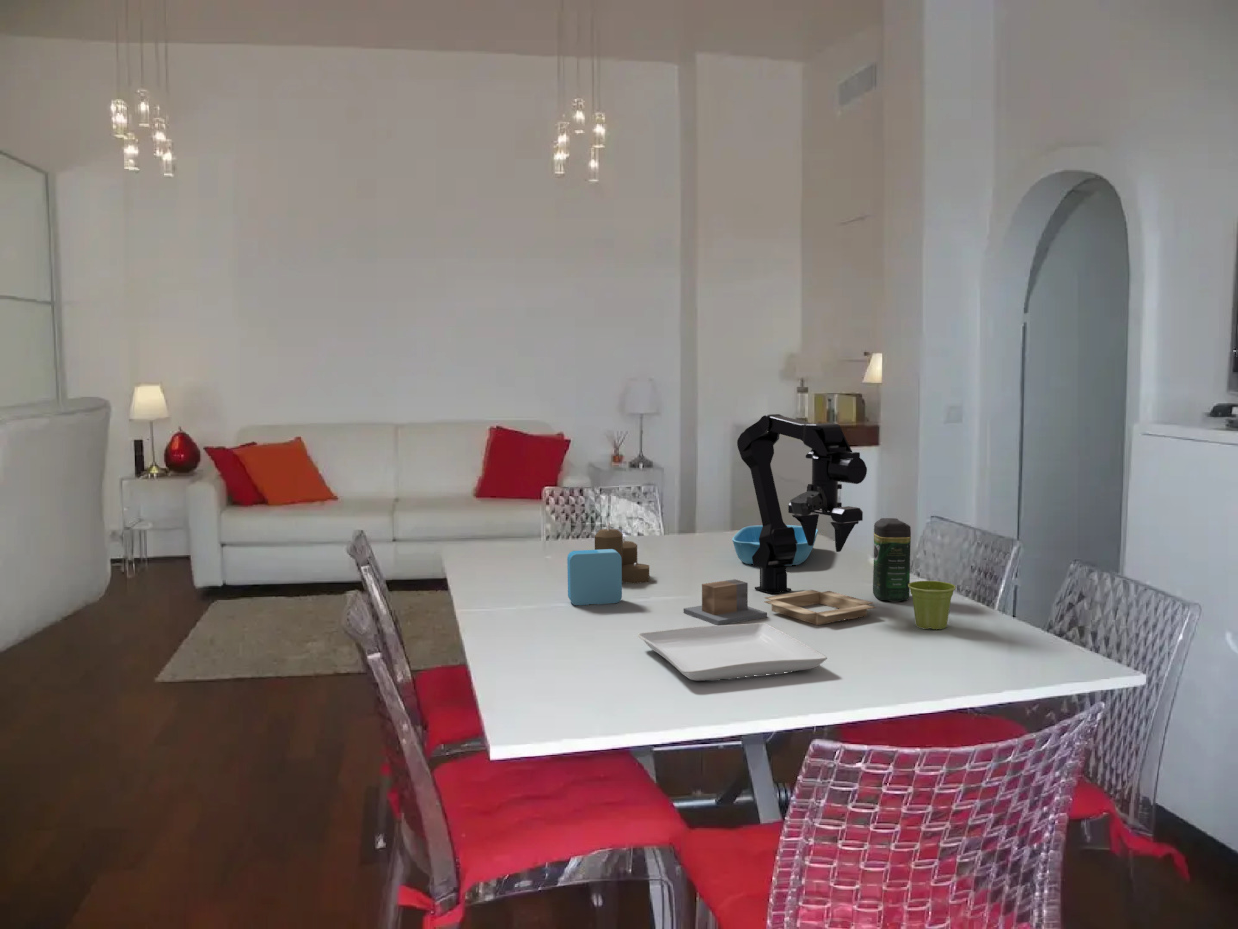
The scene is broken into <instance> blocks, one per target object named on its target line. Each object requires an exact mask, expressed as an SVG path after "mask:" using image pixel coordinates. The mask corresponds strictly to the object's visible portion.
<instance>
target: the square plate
mask: <svg viewBox="0 0 1238 929" xmlns="http://www.w3.org/2000/svg"><path fill="white" fill-rule="evenodd" d="M637 637H638V638H639V639H641V640H642V641H643V642H644V643H645V644H646V645H647V646H648V647H649V649H651V650H653V652H655V653H657V654H658V655H660V656H661V658H664V659H665V660H666V661H667V662H669V663H670V664H671V665H672V666H673V667H675V668H676V670H678V671H679V673H680V674H682V675H683V676H685V677H686V678H688V679H689V680H691V681H705V680H718V681H721V680H720V679H728V680H730V679H729V678H737V677H745V676H754V675H765V676H767V675H766V674H775V673H784V672H790V673H792V672H791V671H794V672H796V671H798V672H799V671H806V670H812V669H814V668H817V667H818V666H820V665H822V664H823V663H824V661H826V660H827V659H828V656H826V655H824V654H823V653H821V652H819V651H817V650H816V649H814V648H813V647H811V646H809V645H807V644H806V643H804V642H803V641H800V640H799V639H797V638H795V637H793V636H791V635H789V634H788V633H785V632H783V631H782V630H780V629H778V628H775V627H773V626H772V625H769V624H767V623H764V622H759V623H744V624H742V623H741V624H724V625H705V626H703V625H702V626H693V627H692V626H691V627H682V628H673V629H665V630H657V631H655V630H654V631H647V632H639V633H638V634H637ZM784 674H785V673H784ZM775 675H776V674H775ZM737 679H738V678H737Z"/></svg>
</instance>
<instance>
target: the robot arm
mask: <svg viewBox="0 0 1238 929" xmlns="http://www.w3.org/2000/svg"><path fill="white" fill-rule="evenodd" d="M780 435H782V436H786V437H788V438H793V439H796V440H799V441H802V443H803V444H804V445H805V446H806V447H808V448H809V449H811V450H810V451H809V452H808V453H807V454H806V455H805V458H806V459H808V460H810V459H811V483H807V485H806V491H805V492H803V493H800V494H799V495H796V496H795V497H792V498H791V499H790V500H789V503H788V505H787V507H788V508H787V509H788V514H791V515H792V518H795V519H796V520H797V521H798V522H799V523H800V526H802V528H803V531H804V534H805V537H806V540H807V543H808V545H809V546H812V545H813V543H814V539H815V534H816V529H818V528H817V526H818V522H819V516H820V515H822V516H823V515H825V516H829V517H830V518H831V520H832V521H831V522H830V521H829V522H830V524H831V526H832V527H833V529H834V542H835V543H834V546H835V551H836V553H837V552H838V553H840V552H842V550H843V547H844V546H845V544H846V541H847V539H848V538H849V536H850V534H851V532H852V530H853V529H854V527H855V525H858V524H859V522H860V521H861V522H863V520H864V519H863V517H864V515H863V514H864V512H863V510H862V509H861V508H860V507H856V506H855V507H854V506H849V505H848V506H843V505H842V504H843V503H842V502H840V501H839V500H838V497H839V496H838V494H839V490H842V489H843V486H842V484H840V483H846V484H854V485H858V484H861V483H863V481H864V480H865V479H866V476H867V474H868V473H867V472H868V467H867V465H866V463H865V461H864V459H862V458H861V454H860V453H861V452H860V451H859V452H857V451H854V452H853V450H852V448H851V445H850V444H849V442H848V440H847V438H846V436H845V434H844V432H843V430H842V426H840V424H838V423H834V422H833V423H830V422H828V423H812V422H808V421H803V420H800V419H795V418H792V417H788V416H784V415H781V414H780V413H778V414H777V413H770V414H765V415H763V416H761V417H760V419H758V421H756V422H755V423H753V424H751V425H750V426H748V427H747V428H746V429H745V430H744V431H742V433H740V435H739V437H738V438H737V441H736V444H737V445H736V446H737V449H738V453H739V455H740V458H741V460H742V462H744V463H745V465H746V466H747V467H748V469H749V470H750V473H751V477H752V483H753V488H754V491H755V497H756V501H757V505H758V510H759V514H760V520H761V523H762V525H763V527H762V530H761V533H760V537H759V543H760V547H759V548H758V550H757V551H756V552H755V554H754V555H753V556H752V560H753V565H752V566H754V567H758V568H759V586H755V587H754V590H757V591H760V592H763V593H766V594H771V595H772V594H779V593H785V592H791V591H792V588H791V587H788V573H787V566H785V565H792V564H793V561H794V557H795V554H796V552H797V545H796V544H797V543H798V542H797V540H796V538H795V531H794V529H793V527H787V526H786V525H787V524H785V522H784V520H783V515H782V510H781V505H780V502H779V497H778V493H777V488H776V484H775V479H774V475H773V470H772V465H771V464H772V461H773V457H774V454H775V447H774V445H775V444H776V443H777V442H778V441H779V440H780ZM814 544H815V543H814Z"/></svg>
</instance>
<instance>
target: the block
mask: <svg viewBox="0 0 1238 929" xmlns="http://www.w3.org/2000/svg"><path fill="white" fill-rule="evenodd" d="M748 588H749V584H748V582H746V581H742V580H740V579H735V578H734V579H726V580H721V581H714V582H712V581H711V582H708V583H702V584H701V606H702V611H703V612H706V613H709V614H712V615H719V614H725V613H731V612H737V611H743V610H748V607H749V606H748V605H749V604H748V602H749V601H748V598H749V597H748V595H749V594H748V590H749V589H748Z"/></svg>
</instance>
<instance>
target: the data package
mask: <svg viewBox="0 0 1238 929" xmlns="http://www.w3.org/2000/svg"><path fill="white" fill-rule="evenodd" d="M566 561H567V562H566V563H567V566H566V568H567V598H568V599H569V601H570V602H571V604H572V605H573V606H577V605H579V606H590V605H589V604H597V605H610V604H609V603H615V604H618V603H620V602H621V600H622V598H623V585H622V584H623V582H622V559H621V555H620V554H619V553H618V552H617V551H616V550H614V549H602V550H595V549H585V550H584V549H581V550H572V551H570V552H569V553H568V554H567V559H566ZM607 603H608V604H607Z"/></svg>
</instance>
